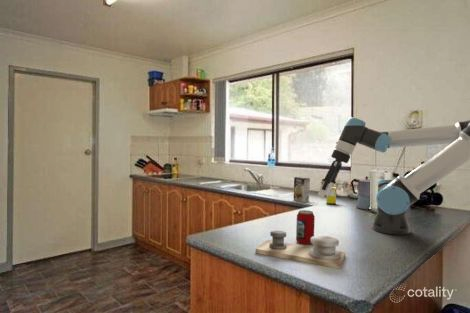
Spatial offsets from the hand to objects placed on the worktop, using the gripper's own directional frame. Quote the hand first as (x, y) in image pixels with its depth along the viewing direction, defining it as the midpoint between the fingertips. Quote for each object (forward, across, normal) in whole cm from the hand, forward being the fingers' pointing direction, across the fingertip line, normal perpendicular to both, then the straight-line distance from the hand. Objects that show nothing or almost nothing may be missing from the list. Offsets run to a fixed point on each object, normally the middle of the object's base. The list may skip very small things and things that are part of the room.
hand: (322, 195), depth 140 cm
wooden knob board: (+18, +36, +5) cm, 40 cm away
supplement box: (+11, -72, -1) cm, 73 cm away
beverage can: (+17, +21, +3) cm, 27 cm away
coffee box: (+18, -73, -19) cm, 78 cm away
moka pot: (+5, -66, +18) cm, 69 cm away
